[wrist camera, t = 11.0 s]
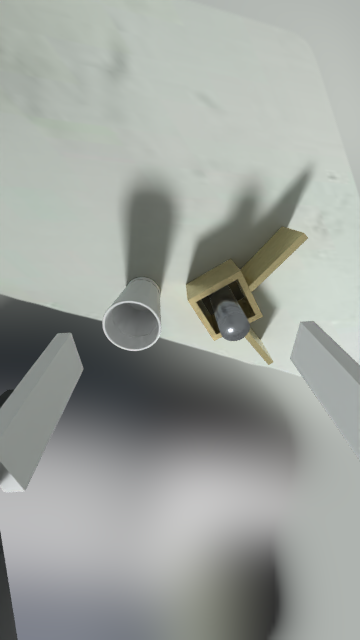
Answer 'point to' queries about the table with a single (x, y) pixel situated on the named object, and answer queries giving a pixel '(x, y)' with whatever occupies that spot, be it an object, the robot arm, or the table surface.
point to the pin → (229, 314)
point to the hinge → (244, 283)
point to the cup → (134, 316)
